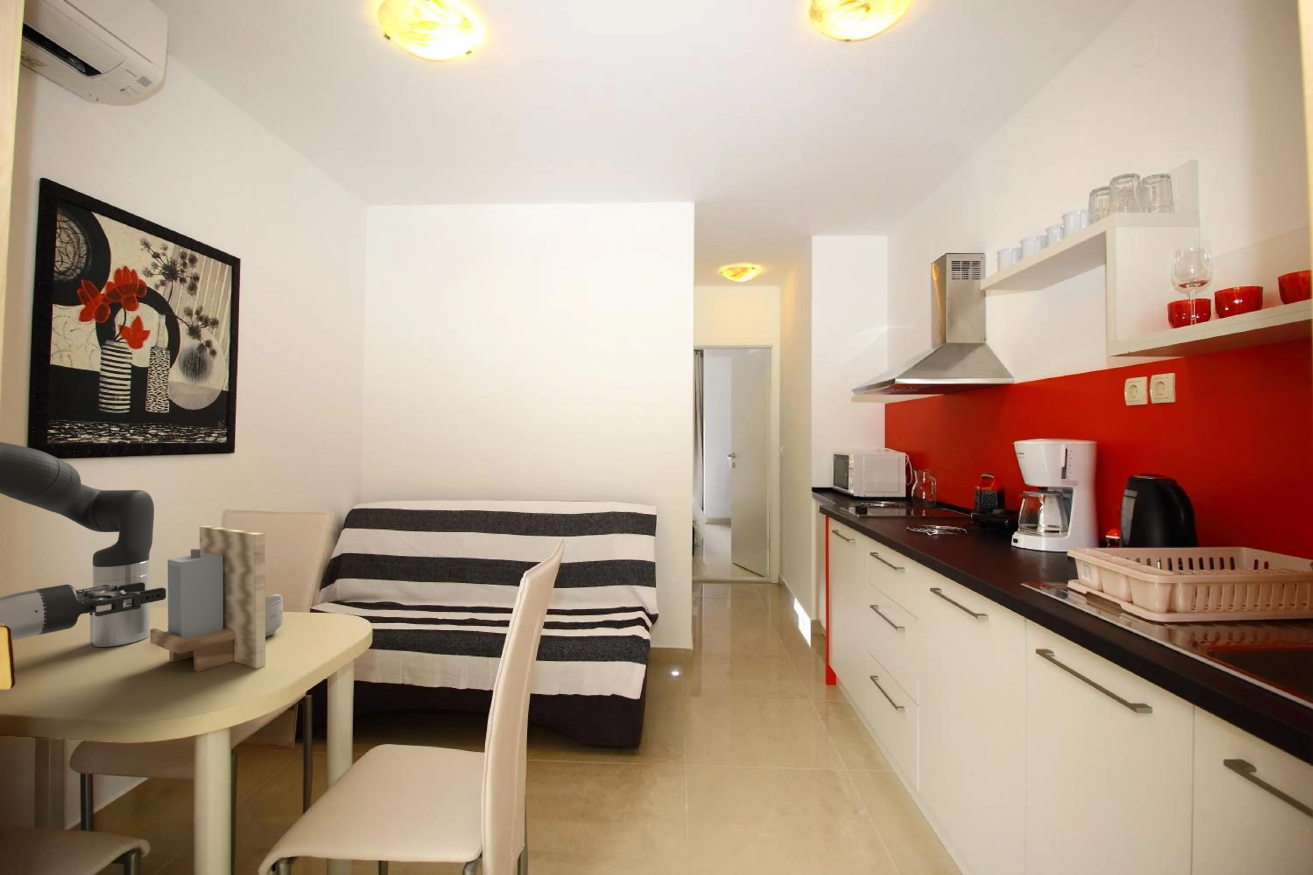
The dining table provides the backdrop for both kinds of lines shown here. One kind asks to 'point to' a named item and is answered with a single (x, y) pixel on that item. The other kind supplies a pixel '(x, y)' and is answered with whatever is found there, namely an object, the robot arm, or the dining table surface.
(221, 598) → the bottle
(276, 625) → the teacup
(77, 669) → the dining table surface
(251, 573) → the wooden display stand
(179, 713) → the dining table surface
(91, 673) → the dining table surface
